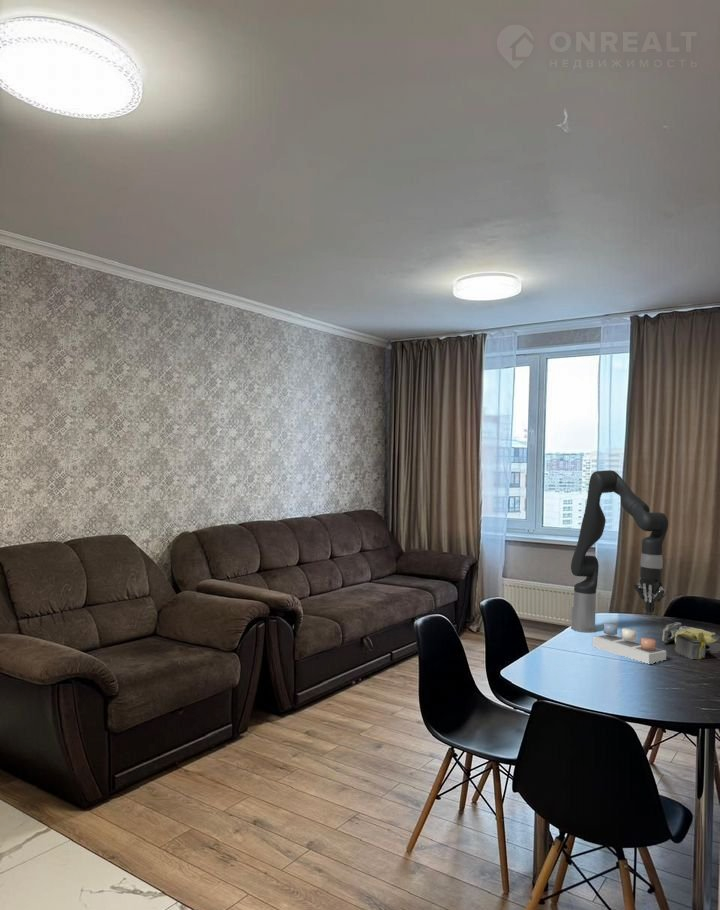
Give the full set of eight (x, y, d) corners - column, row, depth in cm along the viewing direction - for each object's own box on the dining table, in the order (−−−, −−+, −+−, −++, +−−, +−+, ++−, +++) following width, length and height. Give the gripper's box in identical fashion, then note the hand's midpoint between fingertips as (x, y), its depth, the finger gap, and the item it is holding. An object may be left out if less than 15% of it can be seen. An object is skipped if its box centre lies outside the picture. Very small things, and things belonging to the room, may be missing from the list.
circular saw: (665, 636, 276) (730, 652, 258) (639, 648, 254) (707, 666, 237) (667, 612, 276) (732, 626, 258) (641, 622, 254) (710, 638, 237)
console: (593, 646, 256) (593, 636, 257) (609, 643, 261) (610, 633, 261) (648, 665, 235) (649, 653, 235) (666, 661, 240) (666, 650, 240)
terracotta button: (638, 647, 242) (638, 638, 242) (646, 646, 244) (646, 637, 244) (649, 651, 237) (650, 642, 237) (658, 650, 240) (658, 640, 240)
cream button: (619, 637, 249) (619, 628, 249) (627, 636, 252) (627, 627, 252) (630, 641, 245) (630, 632, 245) (638, 639, 247) (639, 630, 247)
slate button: (600, 632, 256) (601, 623, 256) (609, 631, 259) (609, 622, 259) (611, 635, 252) (611, 626, 252) (619, 634, 255) (620, 625, 255)
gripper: (629, 563, 245) (627, 609, 245) (660, 569, 233) (659, 617, 233) (642, 562, 248) (640, 607, 248) (673, 568, 237) (672, 615, 237)
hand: (649, 612), depth 241 cm, fingers closed
